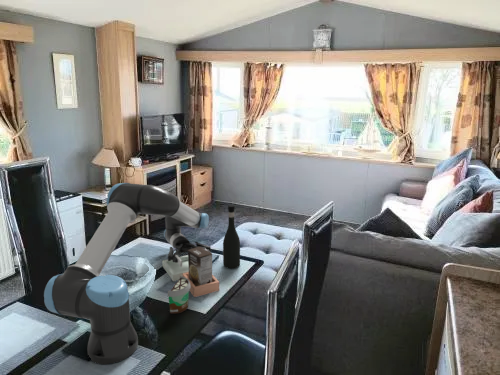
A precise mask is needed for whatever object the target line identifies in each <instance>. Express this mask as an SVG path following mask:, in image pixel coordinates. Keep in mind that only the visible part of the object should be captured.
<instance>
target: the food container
mask: <svg viewBox="0 0 500 375" xmlns="http://www.w3.org/2000/svg"><path fill="white" fill-rule="evenodd" d="M190 288H191V285H190V282H189V280H188V279H187V278H185V277H182V276H180V279H179V280H177V281H176V282H175V283H174V284H173V286H172V287H171V289H170V290H167V298H168V305H169V313H170V314H173V315H174V314H176V315H177V314H180V313H183V312H184V311H186V310H187V309H188V308H189V296H190V294H189V293H190V291H189V290H190Z"/></svg>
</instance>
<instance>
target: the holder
mask: <svg viewBox="0 0 500 375" xmlns="http://www.w3.org/2000/svg"><path fill="white" fill-rule="evenodd" d="M183 277H185V278H187V279H188V280H189V282H190V285H191V288H190V291H189V293H191V295H192V296H193V297H194V298H197V297H200V296H204V295H208V294H211V293H214V292H219V291H220V280H218V279H217V278H216V277H215V275H214V274H212V282H211V283H208V284H204V285H200V286H195V285H194V284H193V283H192V281H191V280H190V279H189V272H187V273H183Z"/></svg>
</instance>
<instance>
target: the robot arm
mask: <svg viewBox="0 0 500 375" xmlns="http://www.w3.org/2000/svg"><path fill="white" fill-rule="evenodd" d="M106 197H107V198H106V209H107V213H106V215H105V217H104V218H103V220H102V222H101V223H100V225H99V226H98V228H97V229H96V230H95V232H94V234H93V236H92V237H91V239H90V240H89V241H88V243H87V244H86V246H85V248H84V249H83V251H82V253H81V254H80V256H79V258H77V261H76V262H75V264H71V265H68V266H67V268H66V269H65V270H64V272H63V273H62V274H56V275H54V276H52V277H51V278H50V279H49V280H48V282H47V284H46V285H45V288H44V291H43V297H44V300H43V301H44V305H45V307H46V309H47V310H48V311H49V312H51V313H54V314H58V315H60V316H68V317H75V318H79V319H86V320H88V321H89V324H90V329H91V330H90V334H89V338H88V342H87V346H86V347H87V349H86V350H87V356H88V355H89V357H90V358H91V360H92V361H91V360H90V361H91V362H93V361H94V362H93V363H95V362H96V363H95V364H98V363H99V365H110V364H109V363H112V364H115V363H114V362H116V363H119V362H121V361H124V360H126V359H127V358H129V357H131V356H132V355H133V354H134V353H135V351H137V348H138V345H139V339H138V338H139V337H138V334H137V331H136V330H135V328H134V326H133V324H132V322H131V312H130V292H129V290H128V285H127V283H126V281H125V280H124V279H123V278H122V277H120V276H117V275H113V274H105V275H101V273H102V271H103V269H104V267H105V266H106V264H107V262H108V260H109V258H110V257H111V255H112V254H113V252H114V250H115V248H116V247H117V245H118V243H119V241H120V239H121V238H122V236H123V234H124V232H125V231H126V229H127V228H128V225H129V224H130V223H134V222H135V221H136V219H137V218H138V216H139V215H147V216H148V215H152V216H163V217H164V221H165V229H164V231H163V237H164V239H165V240H166V241H167V243H168V244H169V245H171V246H170V247H169V250H168V253H167V260H168V261H171V260H173V262H175V263H178V264H179V266H180V267H182V260H181V259H180V258H179V257H180V256H182V254H185V253H188V250H190V249H193V248H197V247H202V248H204V249H205V250H207V251H209V252H211V246H209V245H207V244H204V243H199V242H198V241H195V242H194V243H191V242H190V240H188V238H187V237H186V236H185V235H184V234H182V227H183V228H184V227H186V228H194V229H199V230H200V229H207V228H208V226H209V221H210V216H209V215H208V214H209V213H208V214H207V213H206V212H198V211H196V210H195V209H194V208H191V207H190V206H188V205H187V204H185V203H184V202H183V201H180V198H178V197H177V195H176V194H173V193H172V192H170V191H168V190H166V189H164V188H162V187H159V186H157V185H151V184H142V183H141V184H140V183H139V184H138V183H130V182H122V183H121V182H120V183H119V182H118V183H116V184H114V185H112V187H111V188H110V189H109V190H108V192H107V196H106ZM211 253H212V252H211ZM89 357H88V358H89Z"/></svg>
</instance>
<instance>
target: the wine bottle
mask: <svg viewBox="0 0 500 375" xmlns="http://www.w3.org/2000/svg"><path fill="white" fill-rule="evenodd" d="M235 209H236V208H235V205H234V204H229V205H228V207H227V210H228V225H227V226H228V227H227V228H226V232H225V235H224V236H223V242H222V265H223V266H224V268H226V269H231V270H232V269H233V270H234V269H237V268H239V267H240V265H241V239H240V237H239V235H238V232H237V230H236V226H235Z"/></svg>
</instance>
